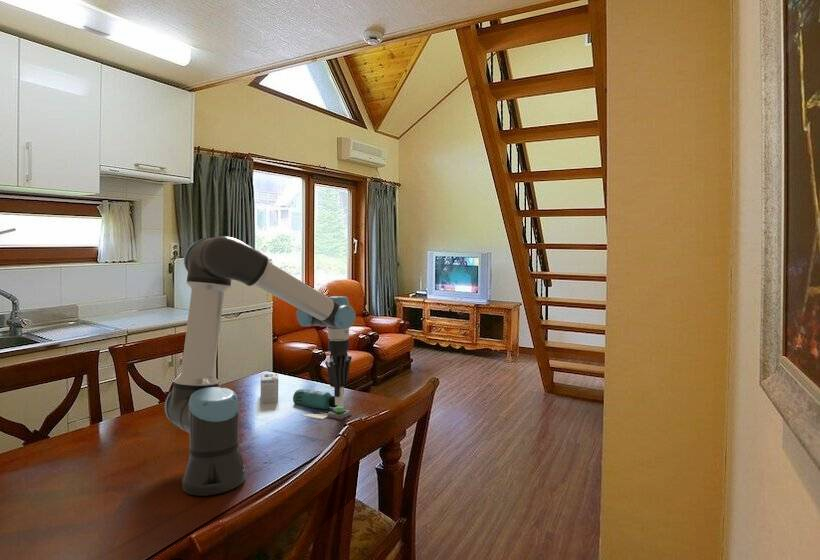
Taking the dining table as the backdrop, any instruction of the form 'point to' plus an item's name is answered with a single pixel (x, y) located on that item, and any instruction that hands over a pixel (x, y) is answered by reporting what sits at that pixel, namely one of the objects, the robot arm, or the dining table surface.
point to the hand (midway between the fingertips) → (339, 404)
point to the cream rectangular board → (316, 416)
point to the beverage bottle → (314, 399)
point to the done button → (339, 409)
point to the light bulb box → (269, 388)
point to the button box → (339, 416)
